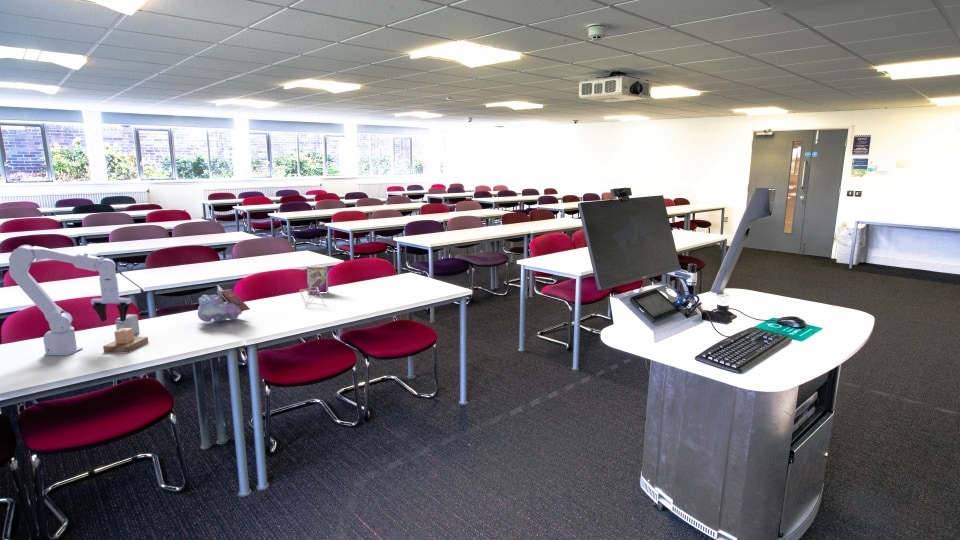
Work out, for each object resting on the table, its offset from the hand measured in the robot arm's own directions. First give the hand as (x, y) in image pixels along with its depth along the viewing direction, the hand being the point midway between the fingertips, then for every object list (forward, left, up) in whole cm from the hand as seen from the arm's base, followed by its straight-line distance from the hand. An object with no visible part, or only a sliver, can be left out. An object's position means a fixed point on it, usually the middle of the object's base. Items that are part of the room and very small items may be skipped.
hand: (113, 320), depth 209 cm
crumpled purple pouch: (+29, +32, -11) cm, 44 cm away
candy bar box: (+56, +92, -11) cm, 108 cm away
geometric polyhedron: (+61, +65, -11) cm, 90 cm away
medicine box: (-3, +12, -11) cm, 16 cm away
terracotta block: (+6, -3, -8) cm, 10 cm away
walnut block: (+6, -3, -11) cm, 13 cm away
